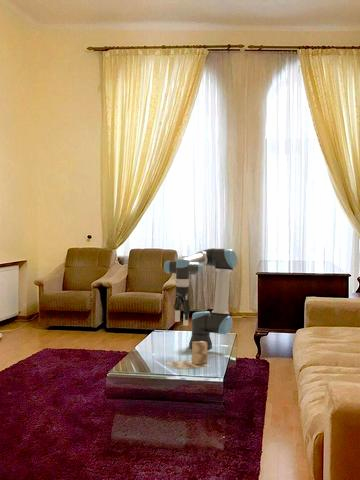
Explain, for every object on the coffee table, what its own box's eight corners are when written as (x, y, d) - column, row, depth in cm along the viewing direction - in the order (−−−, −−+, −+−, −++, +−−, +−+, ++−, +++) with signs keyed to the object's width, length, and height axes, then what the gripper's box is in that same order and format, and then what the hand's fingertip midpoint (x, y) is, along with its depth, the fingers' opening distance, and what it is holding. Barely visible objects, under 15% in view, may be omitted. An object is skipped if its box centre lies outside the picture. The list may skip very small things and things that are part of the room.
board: (198, 361, 315) (198, 359, 315) (210, 368, 300) (210, 366, 300) (165, 364, 307) (166, 362, 307) (176, 371, 292) (176, 369, 292)
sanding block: (203, 361, 310) (203, 340, 310) (207, 364, 305) (207, 342, 305) (191, 362, 307) (192, 341, 307) (195, 364, 302) (196, 343, 302)
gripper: (168, 284, 320) (168, 320, 321) (183, 288, 297) (183, 327, 297) (180, 284, 323) (180, 319, 323) (196, 288, 300) (195, 326, 300)
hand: (181, 323), depth 310 cm, fingers open, 13 cm apart
